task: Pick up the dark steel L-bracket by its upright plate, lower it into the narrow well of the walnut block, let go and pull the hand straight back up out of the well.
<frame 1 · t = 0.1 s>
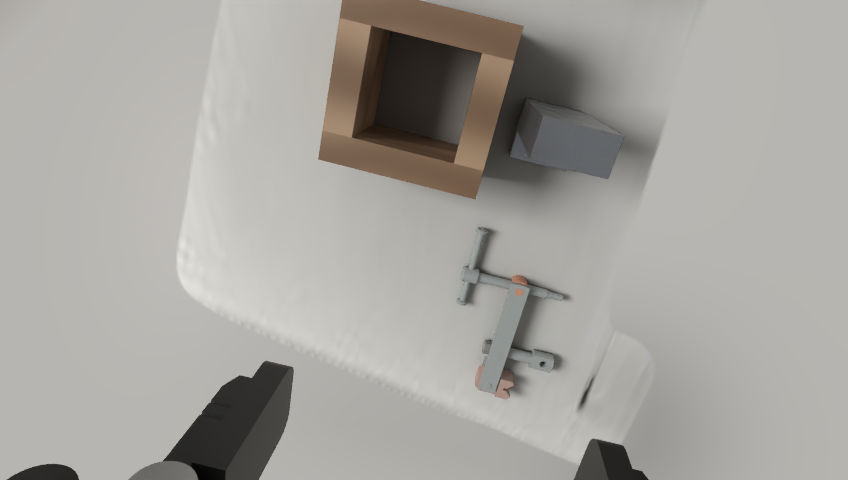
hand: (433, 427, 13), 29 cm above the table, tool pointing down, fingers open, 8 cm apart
well block: (426, 89, 38), on the table
clamp: (507, 311, 45), on the table
bracket: (545, 133, 38), on the table
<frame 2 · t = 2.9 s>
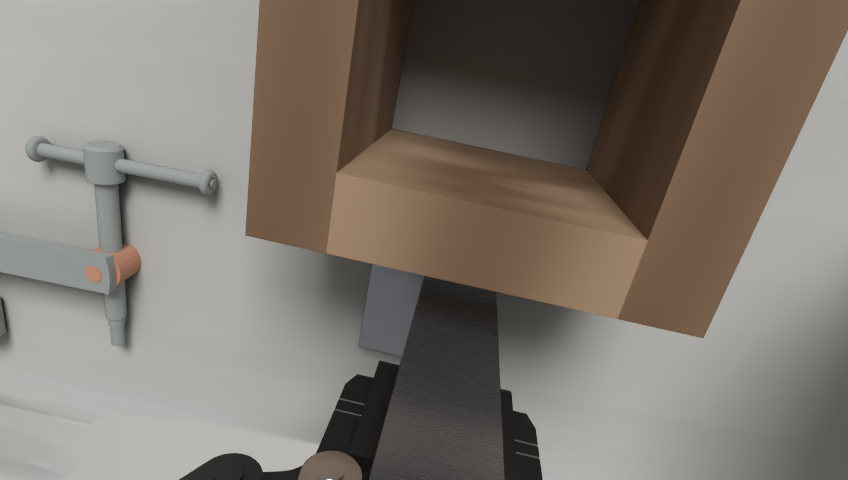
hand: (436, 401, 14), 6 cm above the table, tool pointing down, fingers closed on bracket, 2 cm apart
well block: (513, 44, 16), on the table
clamp: (64, 239, 22), on the table
bracket: (426, 296, 20), on the table, touching gripper
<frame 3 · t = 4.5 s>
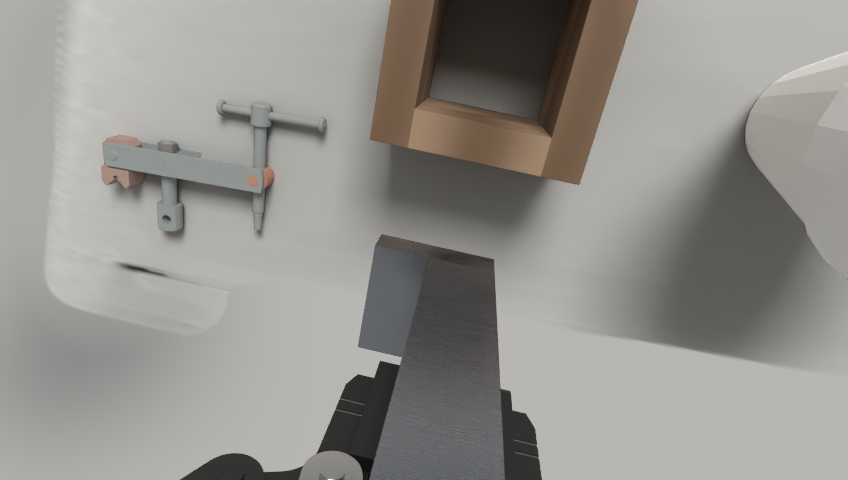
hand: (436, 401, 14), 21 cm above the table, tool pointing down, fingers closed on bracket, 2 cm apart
well block: (496, 50, 30), on the table
clamp: (223, 166, 35), on the table
cup: (804, 124, 30), on the table
bracket: (426, 296, 20), point 15 cm above the table, touching gripper
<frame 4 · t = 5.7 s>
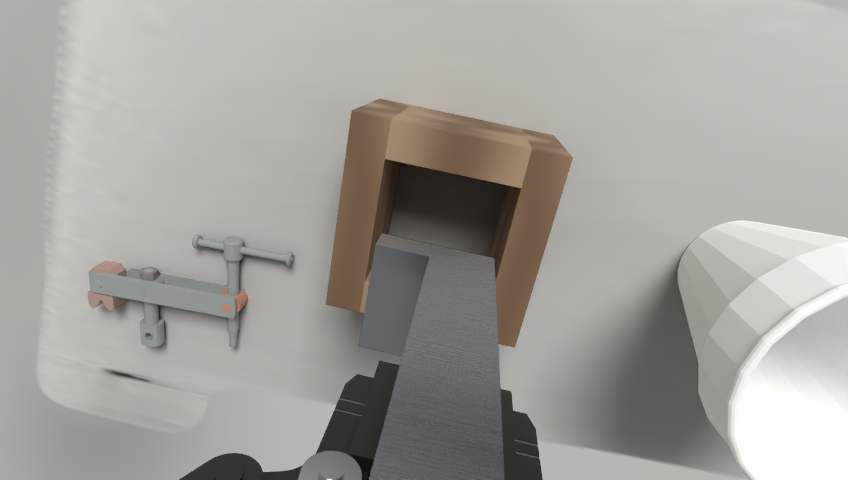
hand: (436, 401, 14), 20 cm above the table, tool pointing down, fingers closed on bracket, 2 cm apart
well block: (447, 200, 33), on the table
clamp: (201, 286, 38), on the table
cup: (731, 268, 32), on the table
bracket: (426, 295, 20), point 14 cm above the table, touching gripper
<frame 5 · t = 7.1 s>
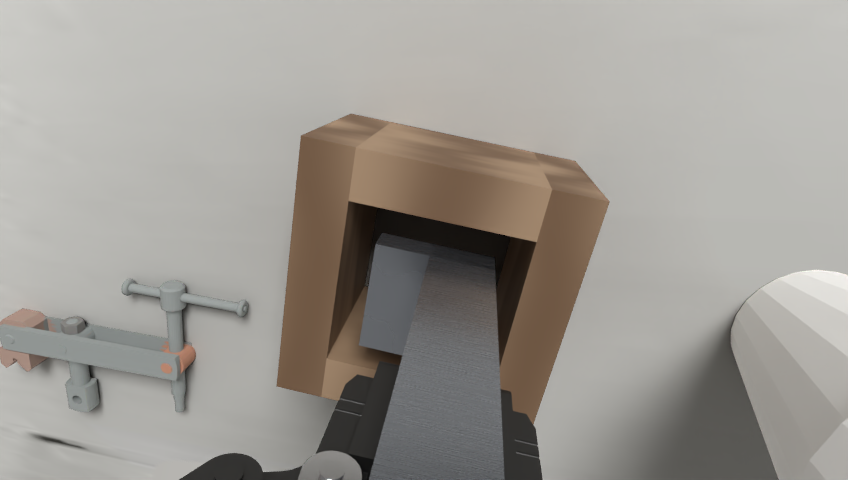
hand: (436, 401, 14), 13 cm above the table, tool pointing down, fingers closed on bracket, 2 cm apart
well block: (439, 241, 26), on the table
clamp: (140, 338, 31), on the table
cup: (800, 329, 25), on the table
bracket: (427, 295, 20), point 6 cm above the table, touching gripper
when the fingers open (8 cm above the table, at t = 8.5 s): bracket drops 2 cm, resting in well block.
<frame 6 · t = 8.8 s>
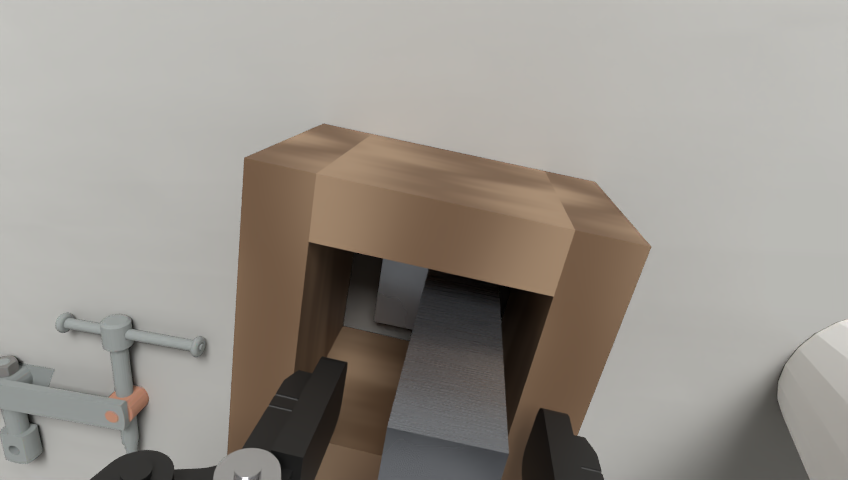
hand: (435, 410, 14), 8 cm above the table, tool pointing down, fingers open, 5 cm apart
well block: (431, 275, 22), on the table
clamp: (86, 378, 27), on the table
bracket: (435, 274, 22), resting in well block
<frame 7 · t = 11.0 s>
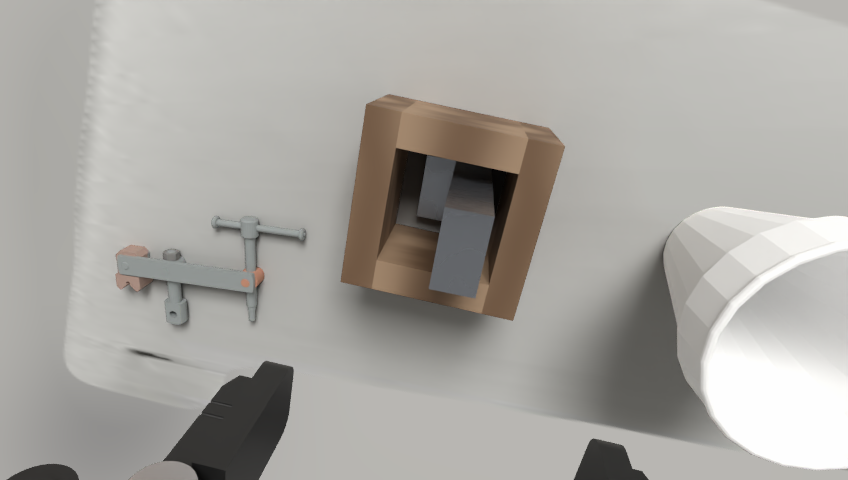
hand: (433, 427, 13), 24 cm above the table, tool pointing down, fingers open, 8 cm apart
well block: (451, 188, 35), on the table
clamp: (220, 266, 41), on the table
cup: (712, 251, 35), on the table
bracket: (453, 188, 35), resting in well block
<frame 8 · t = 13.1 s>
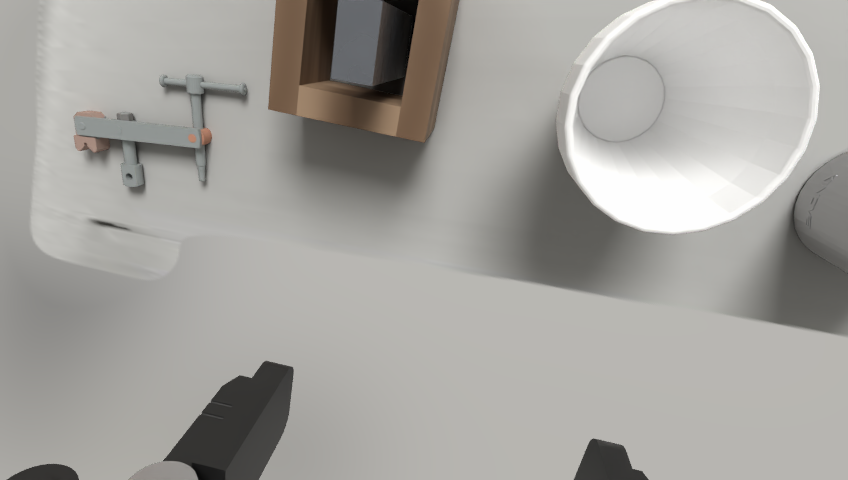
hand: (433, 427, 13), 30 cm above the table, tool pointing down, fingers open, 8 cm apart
well block: (378, 42, 38), on the table
clamp: (172, 130, 44), on the table
cup: (618, 99, 38), on the table
bracket: (380, 42, 38), resting in well block
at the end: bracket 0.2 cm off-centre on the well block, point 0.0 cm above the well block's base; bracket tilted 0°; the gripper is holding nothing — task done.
